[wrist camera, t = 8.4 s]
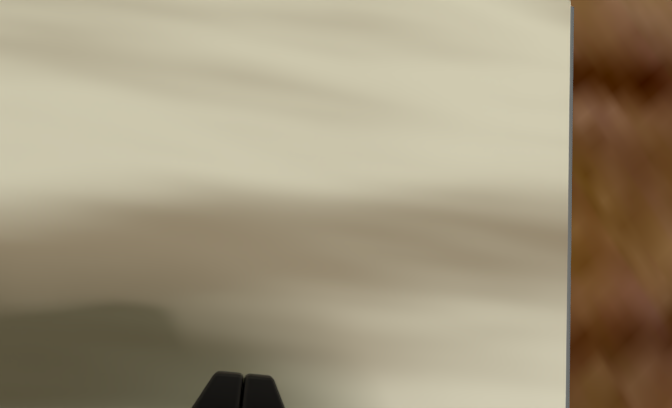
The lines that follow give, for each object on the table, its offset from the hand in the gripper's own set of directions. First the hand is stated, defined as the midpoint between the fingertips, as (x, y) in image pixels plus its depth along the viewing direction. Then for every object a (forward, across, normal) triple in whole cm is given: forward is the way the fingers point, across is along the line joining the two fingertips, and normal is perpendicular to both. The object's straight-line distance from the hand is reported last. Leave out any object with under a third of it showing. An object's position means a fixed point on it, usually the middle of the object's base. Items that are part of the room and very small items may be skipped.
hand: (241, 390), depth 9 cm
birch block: (+2, 0, +4) cm, 4 cm away
